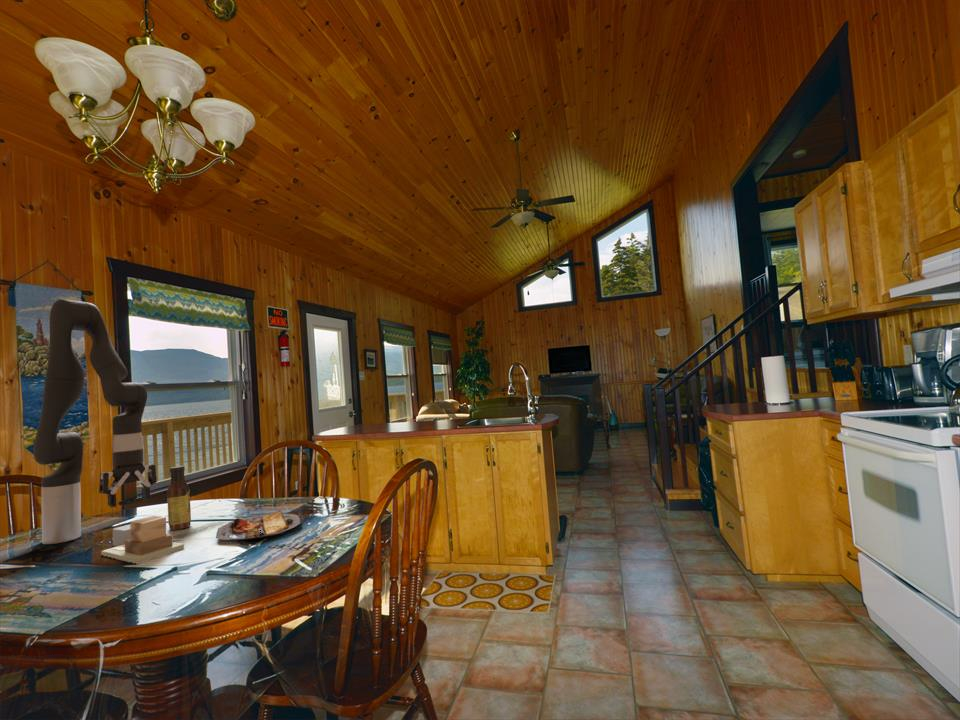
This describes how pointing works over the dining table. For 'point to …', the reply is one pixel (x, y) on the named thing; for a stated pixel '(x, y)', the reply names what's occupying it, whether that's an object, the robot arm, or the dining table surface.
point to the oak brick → (148, 528)
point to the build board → (129, 557)
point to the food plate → (258, 526)
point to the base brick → (148, 545)
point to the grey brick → (121, 535)
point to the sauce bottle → (178, 500)
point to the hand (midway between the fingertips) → (129, 503)
